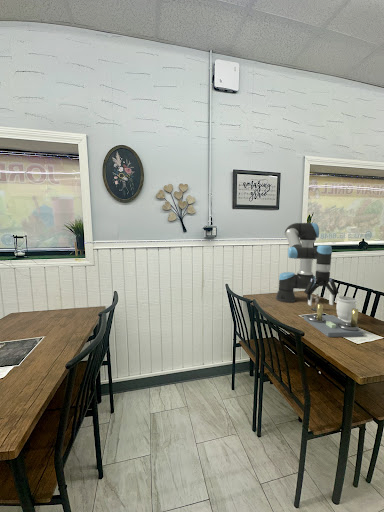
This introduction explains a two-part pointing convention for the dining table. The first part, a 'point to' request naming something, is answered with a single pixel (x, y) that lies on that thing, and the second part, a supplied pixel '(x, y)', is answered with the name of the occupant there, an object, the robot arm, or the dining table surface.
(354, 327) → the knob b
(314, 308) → the figurine
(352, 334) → the plate
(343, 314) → the jar
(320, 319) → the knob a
